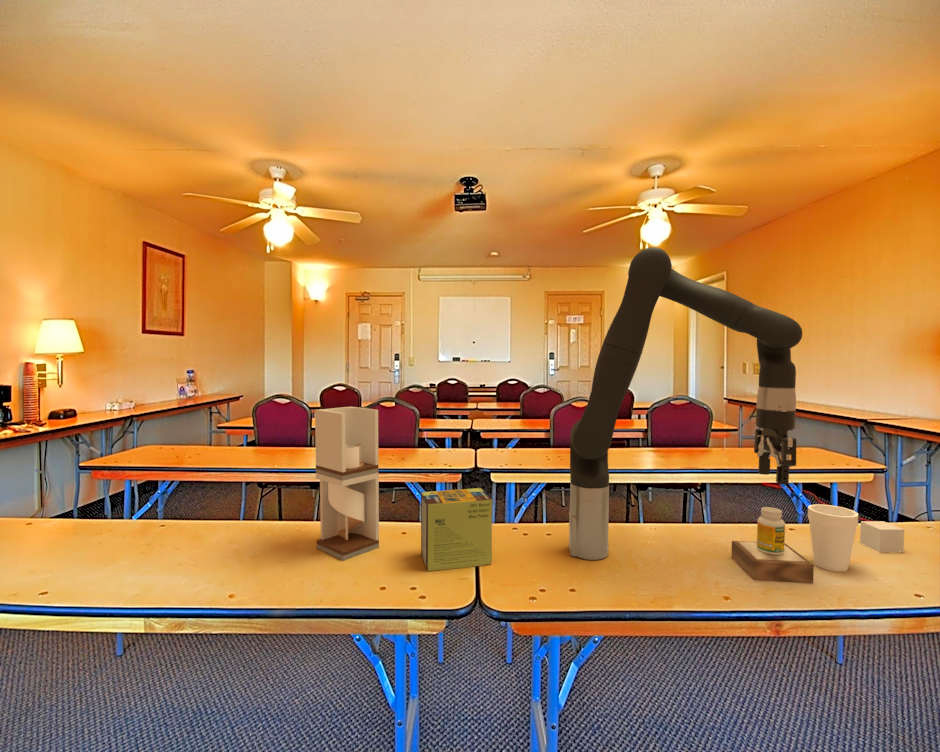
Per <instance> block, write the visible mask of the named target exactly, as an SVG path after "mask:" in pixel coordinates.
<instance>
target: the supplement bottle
mask: <svg viewBox="0 0 940 752" xmlns="http://www.w3.org/2000/svg"><path fill="white" fill-rule="evenodd" d="M760 514H761V515H760V516H759V517H758V518H757V520H756V522H757V527H756V532H757V533H756V542H757V548H758V550H759V551H761V552H763V553H766V554H770V555H782V554H783V553H784V543H785V538H786V537H785V535H786V534H785V532H786V522H785V521H784V519H782V517H783V512H782V510H781V509H779V508H776V507H770V506H763V507H761V509H760Z"/></svg>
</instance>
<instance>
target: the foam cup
mask: <svg viewBox="0 0 940 752" xmlns="http://www.w3.org/2000/svg"><path fill="white" fill-rule="evenodd" d="M807 518H808V521H809V522H808V523H809V531H810V539H811V548H812V549H811V550H812V554H813V555H812V556H813V557H812V558H813V564H814V565H815V566H817V567H819V568H822V569H824V570H828V571H830V572H831V571H832V572H839V573H840V572H842V573H843V572H844V573H845V572H848V570H849V567H850V562H851V556H852V551H853V546H854V541H855V536H856V533H857V532H856V531H857V527H859V513H858V512H856V511H854V510H853V509H849V508H846V507H843V506H837V505H833V504H832V505H831V504H824V503H822V504H818V503H817V504H811V505H808V507H807Z"/></svg>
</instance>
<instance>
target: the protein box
mask: <svg viewBox="0 0 940 752" xmlns="http://www.w3.org/2000/svg"><path fill="white" fill-rule="evenodd" d="M492 515H493V499H492V498H491V497H490V496H489V495H488V494H487V493H486V492H485V491H484V490H483V489H482V488H481V487H475V488H461V489H445V490H436V491H433V490H432V491H423V492H421V493H420V523H421V525H420V526H421V527H420V532H421V533H420V535H421V537H420V538H421V540H420V547H421V548H420V553H421V557H422V560H423V563H424V565H425V568H426V571H427V572H433V571H441V570H442V571H444V570H453V569H461V568H462V569H463V568H471V567H472V568H473V567H479V566H480V567H481V566H482V565H483V566H486V565H485V564H491V563H492V564H493V561H492V559H493V557H492V555H493V547H492V546H493V543H492V542H493V536H492V534H493V529H492V528H493V524H492V523H493V516H492ZM492 564H491V565H492Z"/></svg>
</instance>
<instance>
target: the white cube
mask: <svg viewBox="0 0 940 752" xmlns="http://www.w3.org/2000/svg"><path fill="white" fill-rule="evenodd" d="M859 533H860V535H859V536H860V537H859V544H860V543H862V544H864V545H866V546H868V547H870V548H872V549H874V550H876V551H878V552H899V551H900V552H903V553H904V550H905V549H904V547H905V544H904V542H905V529H904V528H902V527H899V526H896V525H895V524H892V523H889V522H886V521H884V520H883V521H881V520H880V521H879V520H872V521H870V520H866V521H863V520H862V521H860V532H859ZM862 544H861V545H862ZM864 545H863V546H864ZM866 546H865V547H866ZM868 547H867V548H868ZM870 548H869V549H870ZM872 549H871V550H872ZM874 550H873V551H874ZM876 551H875V552H876ZM878 552H877V553H878Z"/></svg>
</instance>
